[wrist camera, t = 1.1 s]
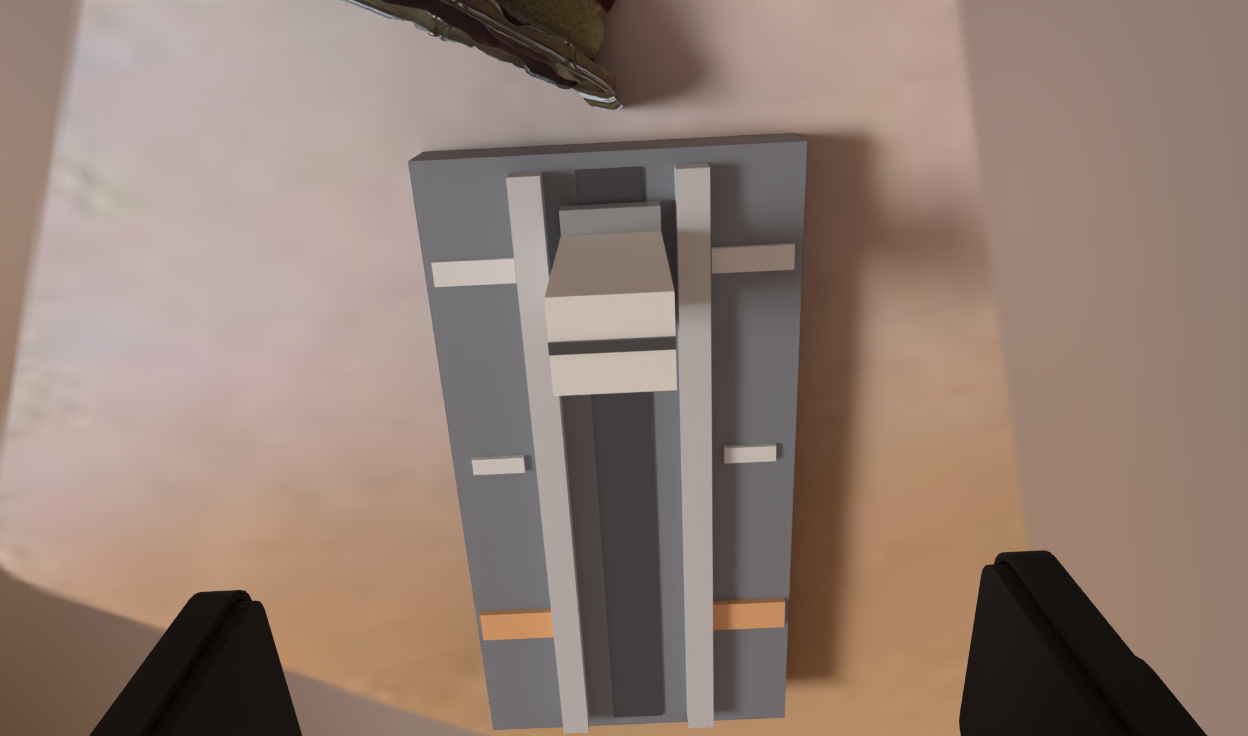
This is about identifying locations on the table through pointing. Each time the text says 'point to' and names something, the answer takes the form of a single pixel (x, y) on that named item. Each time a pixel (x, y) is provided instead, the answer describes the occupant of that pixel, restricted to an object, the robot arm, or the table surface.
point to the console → (623, 433)
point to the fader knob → (611, 302)
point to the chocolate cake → (521, 36)
